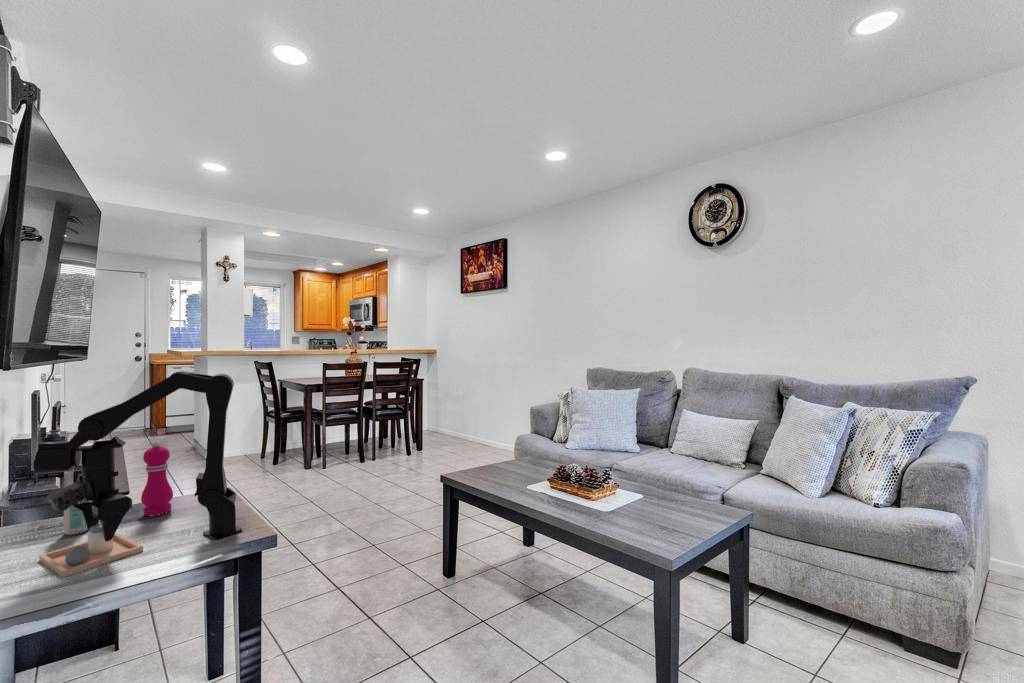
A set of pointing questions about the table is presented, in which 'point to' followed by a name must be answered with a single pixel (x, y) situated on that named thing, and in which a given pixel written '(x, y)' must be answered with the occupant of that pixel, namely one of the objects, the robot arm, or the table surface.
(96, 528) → the cylinder
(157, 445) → the pepper mill
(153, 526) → the table surface
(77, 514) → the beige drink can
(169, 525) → the table surface
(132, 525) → the table surface
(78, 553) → the mixing ball
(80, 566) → the tray
